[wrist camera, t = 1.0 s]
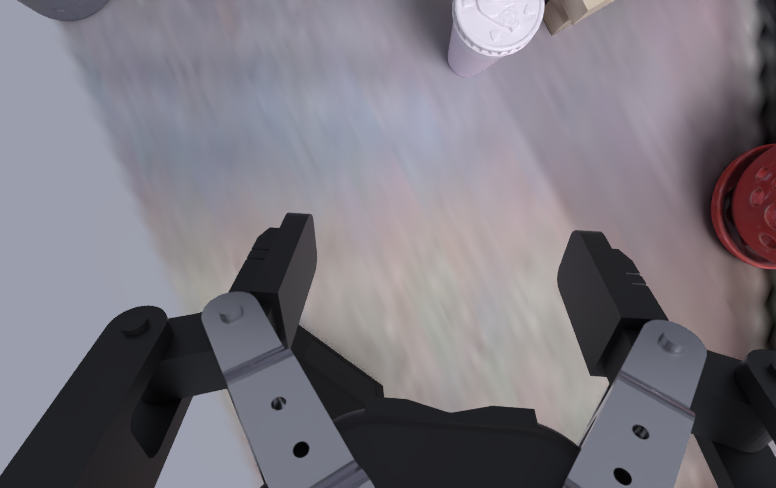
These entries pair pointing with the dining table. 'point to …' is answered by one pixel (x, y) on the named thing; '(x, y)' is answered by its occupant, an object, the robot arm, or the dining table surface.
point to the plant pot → (748, 207)
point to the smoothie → (490, 31)
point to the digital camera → (333, 376)
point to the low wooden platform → (569, 12)
